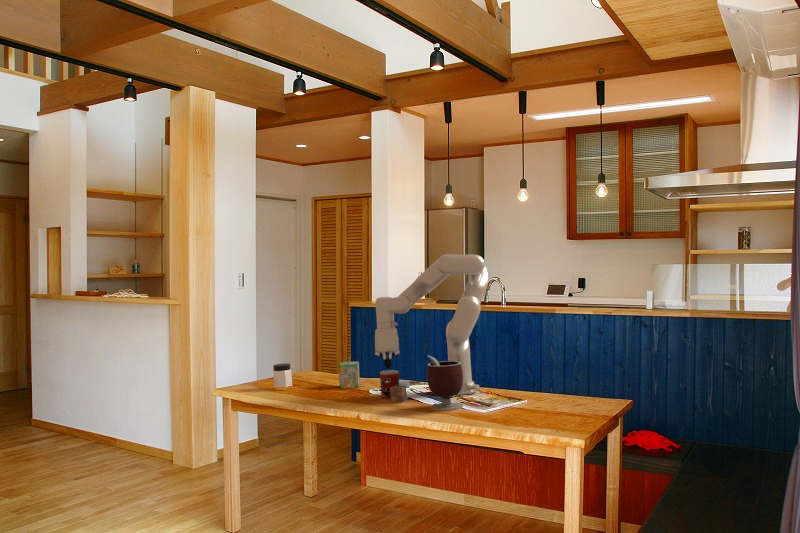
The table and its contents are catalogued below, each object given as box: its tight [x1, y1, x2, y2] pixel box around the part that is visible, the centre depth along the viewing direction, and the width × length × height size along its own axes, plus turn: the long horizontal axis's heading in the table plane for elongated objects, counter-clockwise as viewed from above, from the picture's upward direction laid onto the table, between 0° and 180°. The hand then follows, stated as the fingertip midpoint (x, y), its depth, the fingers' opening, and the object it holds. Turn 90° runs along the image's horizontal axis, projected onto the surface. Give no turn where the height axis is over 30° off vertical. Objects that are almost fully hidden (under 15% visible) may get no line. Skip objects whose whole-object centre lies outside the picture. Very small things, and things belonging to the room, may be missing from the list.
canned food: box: [379, 369, 400, 400], centre depth 289 cm, size 8×8×11 cm
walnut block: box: [390, 386, 408, 403], centre depth 279 cm, size 5×5×6 cm
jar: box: [272, 362, 293, 387], centre depth 328 cm, size 9×8×12 cm
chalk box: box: [338, 355, 361, 390], centre depth 321 cm, size 9×9×15 cm
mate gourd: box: [426, 354, 464, 412], centre depth 260 cm, size 16×14×20 cm
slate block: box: [399, 379, 411, 388], centre depth 299 cm, size 6×6×5 cm
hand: (388, 368), depth 289 cm, fingers closed
